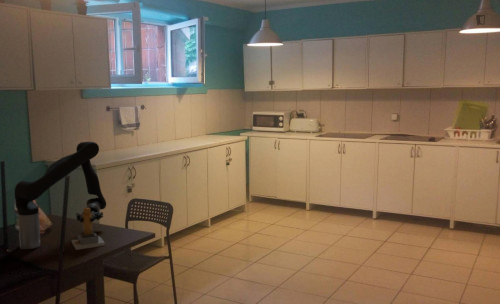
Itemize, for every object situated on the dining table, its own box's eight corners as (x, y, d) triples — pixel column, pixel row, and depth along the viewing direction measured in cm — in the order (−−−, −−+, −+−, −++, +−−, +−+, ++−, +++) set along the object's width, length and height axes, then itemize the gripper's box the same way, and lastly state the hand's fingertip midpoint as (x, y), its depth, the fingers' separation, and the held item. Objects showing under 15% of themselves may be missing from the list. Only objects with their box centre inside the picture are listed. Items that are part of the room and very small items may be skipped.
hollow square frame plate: (76, 249, 232) (75, 241, 232) (71, 243, 243) (71, 234, 242) (105, 245, 239) (104, 236, 239) (99, 238, 250) (99, 230, 249)
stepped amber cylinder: (84, 235, 237) (83, 209, 236) (82, 232, 241) (81, 208, 239) (93, 233, 240) (92, 208, 238) (91, 231, 243) (90, 206, 241)
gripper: (77, 205, 252) (71, 213, 235) (105, 204, 254) (101, 212, 237) (78, 218, 253) (72, 228, 236) (105, 217, 255) (101, 226, 238)
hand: (86, 220), depth 237 cm, fingers closed on stepped amber cylinder, 4 cm apart
